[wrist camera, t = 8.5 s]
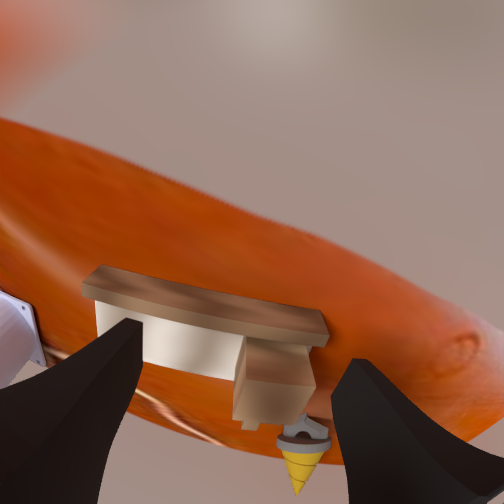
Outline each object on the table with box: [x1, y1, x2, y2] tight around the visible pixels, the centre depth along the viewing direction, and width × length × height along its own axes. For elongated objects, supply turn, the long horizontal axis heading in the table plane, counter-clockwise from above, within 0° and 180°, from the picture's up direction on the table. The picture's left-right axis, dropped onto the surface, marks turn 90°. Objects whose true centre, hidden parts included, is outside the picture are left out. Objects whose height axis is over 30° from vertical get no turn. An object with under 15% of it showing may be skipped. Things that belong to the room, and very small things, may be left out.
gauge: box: [232, 336, 316, 431], centre depth 18 cm, size 4×8×5 cm, turn 167°
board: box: [82, 264, 330, 381], centre depth 19 cm, size 16×7×3 cm, turn 77°
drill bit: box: [276, 412, 331, 495], centre depth 22 cm, size 5×5×10 cm
